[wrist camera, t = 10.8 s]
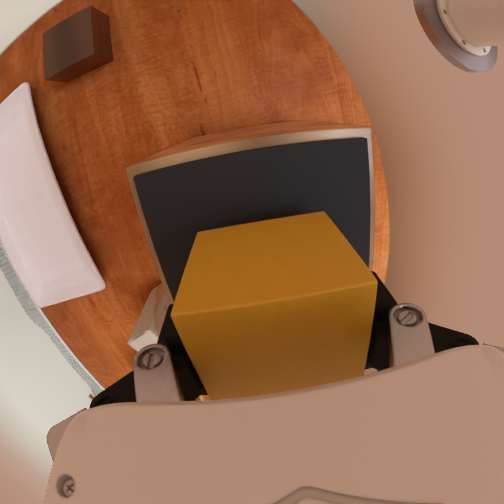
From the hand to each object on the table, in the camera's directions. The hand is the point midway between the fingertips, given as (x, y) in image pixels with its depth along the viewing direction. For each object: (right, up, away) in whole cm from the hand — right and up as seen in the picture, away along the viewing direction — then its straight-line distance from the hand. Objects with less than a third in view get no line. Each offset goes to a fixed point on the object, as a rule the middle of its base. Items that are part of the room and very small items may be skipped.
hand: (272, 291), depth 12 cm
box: (-12, -4, +27) cm, 30 cm away
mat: (0, +1, +3) cm, 3 cm away
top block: (0, +1, +1) cm, 1 cm away
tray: (-33, +9, +19) cm, 39 cm away
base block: (-21, +27, +10) cm, 35 cm away
